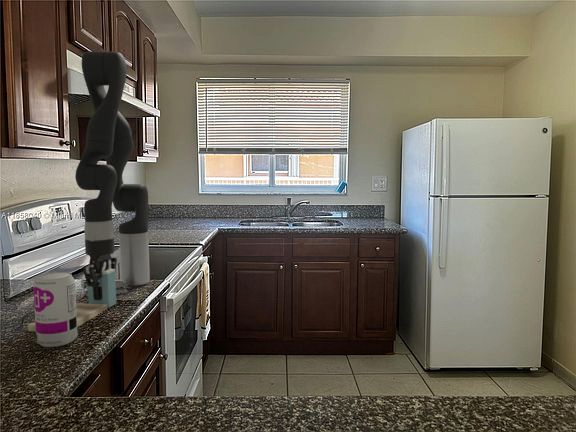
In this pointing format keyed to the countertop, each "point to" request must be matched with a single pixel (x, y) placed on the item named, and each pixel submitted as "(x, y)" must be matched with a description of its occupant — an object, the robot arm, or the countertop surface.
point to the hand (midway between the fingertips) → (102, 297)
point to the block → (105, 289)
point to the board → (81, 313)
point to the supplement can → (55, 309)
